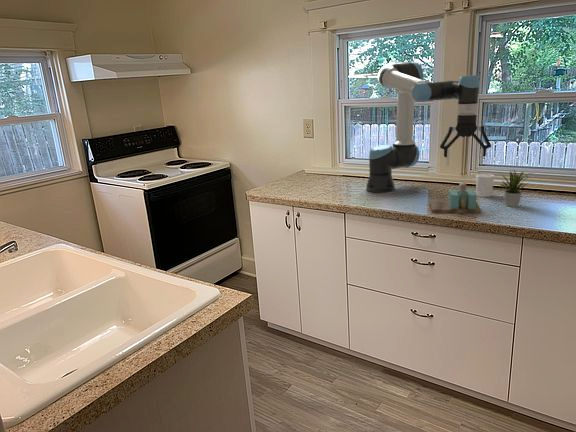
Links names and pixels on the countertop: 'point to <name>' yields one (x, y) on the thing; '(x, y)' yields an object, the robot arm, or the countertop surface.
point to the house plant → (513, 189)
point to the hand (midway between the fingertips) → (463, 164)
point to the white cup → (484, 185)
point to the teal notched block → (456, 197)
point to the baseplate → (445, 208)
